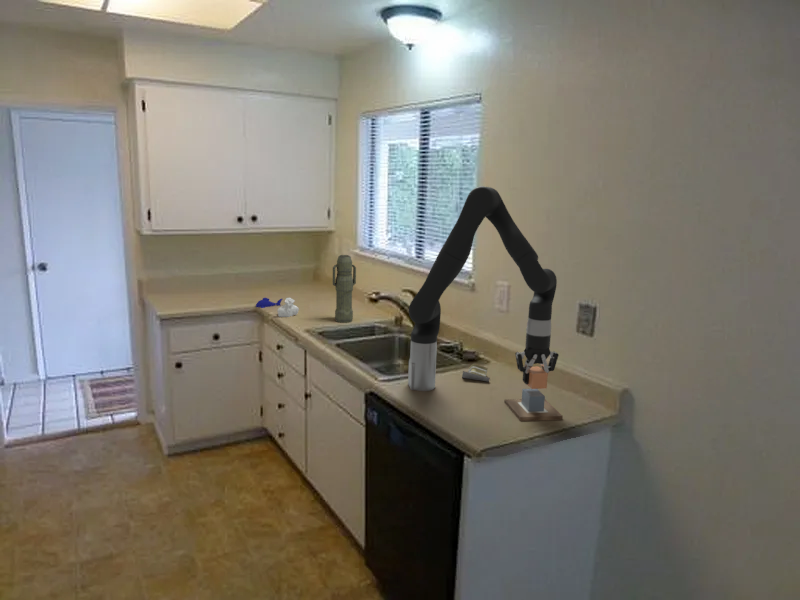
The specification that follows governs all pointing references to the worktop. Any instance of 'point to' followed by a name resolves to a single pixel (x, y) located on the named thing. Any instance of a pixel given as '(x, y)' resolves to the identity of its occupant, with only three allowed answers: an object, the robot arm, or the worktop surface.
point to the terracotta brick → (537, 378)
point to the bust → (288, 308)
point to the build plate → (525, 415)
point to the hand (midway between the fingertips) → (534, 383)
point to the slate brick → (533, 400)
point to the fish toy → (267, 303)
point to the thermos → (344, 288)
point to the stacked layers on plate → (476, 373)
